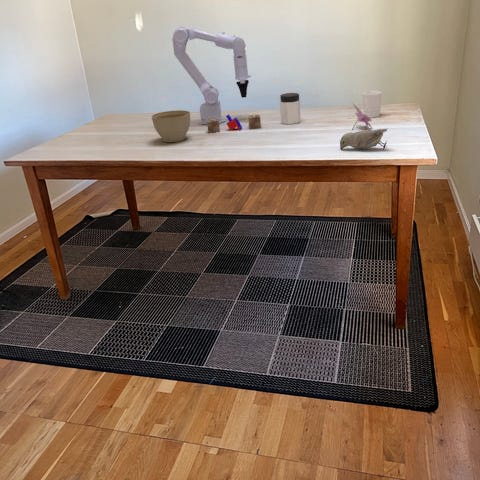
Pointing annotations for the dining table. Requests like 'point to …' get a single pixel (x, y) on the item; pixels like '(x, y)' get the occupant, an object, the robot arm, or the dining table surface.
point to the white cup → (372, 103)
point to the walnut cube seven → (213, 125)
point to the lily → (362, 117)
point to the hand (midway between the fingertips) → (244, 97)
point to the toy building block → (233, 123)
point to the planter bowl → (172, 124)
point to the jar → (290, 108)
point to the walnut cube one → (254, 122)
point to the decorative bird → (362, 139)
